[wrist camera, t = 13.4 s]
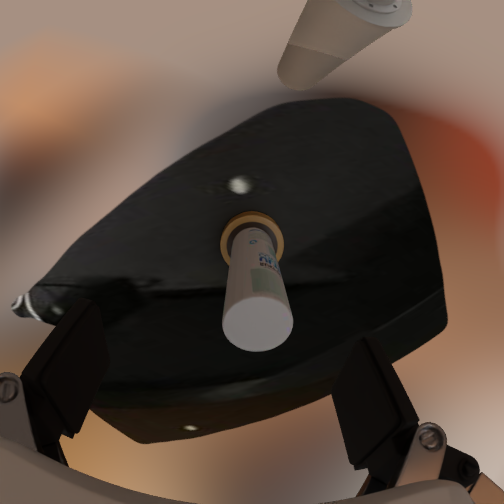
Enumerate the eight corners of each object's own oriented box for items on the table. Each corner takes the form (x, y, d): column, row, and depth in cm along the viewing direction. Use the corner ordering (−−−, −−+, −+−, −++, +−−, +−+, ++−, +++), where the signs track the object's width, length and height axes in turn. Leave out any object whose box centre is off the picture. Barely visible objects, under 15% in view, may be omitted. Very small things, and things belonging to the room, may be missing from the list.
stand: (226, 206, 43) (225, 210, 40) (287, 217, 44) (290, 221, 41) (217, 263, 46) (216, 270, 44) (275, 271, 47) (276, 279, 45)
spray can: (222, 243, 42) (207, 322, 24) (255, 217, 41) (264, 282, 22) (249, 272, 44) (252, 361, 26) (281, 248, 43) (306, 328, 24)
